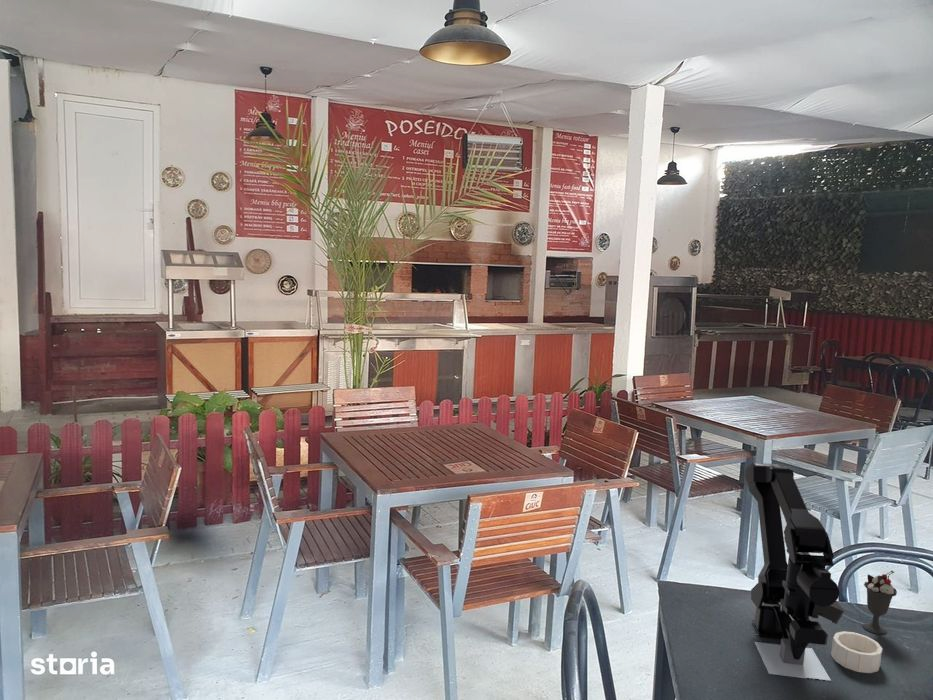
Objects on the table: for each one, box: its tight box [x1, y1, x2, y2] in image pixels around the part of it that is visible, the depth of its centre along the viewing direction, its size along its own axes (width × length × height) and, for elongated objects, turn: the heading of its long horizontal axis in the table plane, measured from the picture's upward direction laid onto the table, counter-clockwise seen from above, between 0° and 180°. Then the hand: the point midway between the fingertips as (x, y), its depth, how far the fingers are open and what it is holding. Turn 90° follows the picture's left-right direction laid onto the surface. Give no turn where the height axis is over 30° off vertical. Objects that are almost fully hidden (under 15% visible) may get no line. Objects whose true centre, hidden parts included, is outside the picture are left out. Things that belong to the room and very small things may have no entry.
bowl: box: [830, 630, 883, 674], centre depth 156 cm, size 9×9×4 cm
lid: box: [754, 638, 832, 682], centre depth 154 cm, size 12×12×5 cm
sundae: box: [861, 570, 898, 636], centre depth 168 cm, size 7×7×15 cm
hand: (792, 652), depth 154 cm, fingers open, 5 cm apart
